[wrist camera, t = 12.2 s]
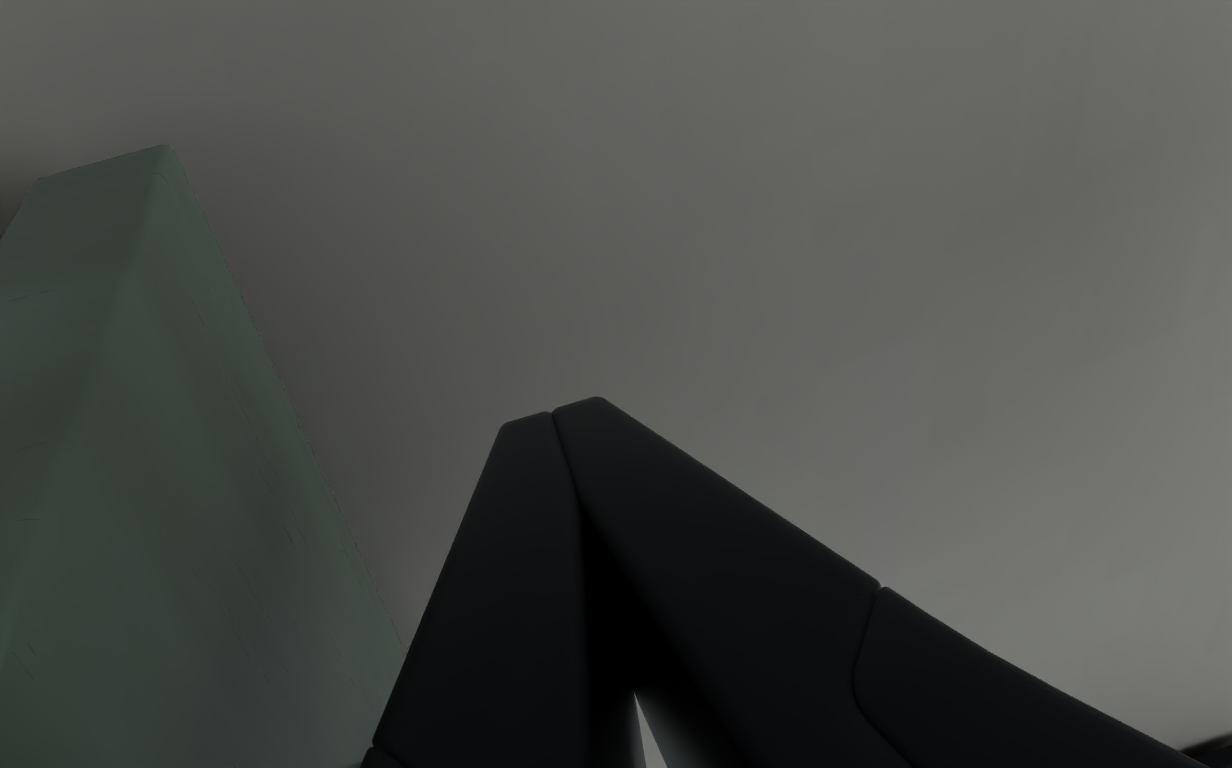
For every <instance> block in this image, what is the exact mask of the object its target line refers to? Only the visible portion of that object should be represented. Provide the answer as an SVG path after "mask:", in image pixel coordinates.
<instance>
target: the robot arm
mask: <svg viewBox="0 0 1232 768" xmlns="http://www.w3.org/2000/svg"><path fill="white" fill-rule="evenodd" d="M634 693H635V696H636V698H637V700H638V703H639V705H640V707H641V710H642V712H643V714H644V716H645V718H646V721H647V723H648V725H649V727H650V730H651V732H652V734H653V736H654V738H655V741H656V743H657V745H658V747H659V749H660V752H661V754H662V756H663V758H664V761H665V763H666V765H667V767H668V768H1232V745H1229V746H1226V747H1223V748H1220V749H1217V750H1214V751H1211V752H1208V753H1205V754H1202V755H1199V756H1197V757H1194V758H1190V757H1188V756H1186V755H1185V754H1183V753H1181V752H1179V751H1177V750H1175V749H1173V748H1171V747H1169V746H1167V745H1165V744H1163V743H1161V742H1159V741H1157V740H1155V739H1153V738H1151V737H1150V736H1148V735H1146V734H1144V733H1142V732H1140V731H1138V730H1136V729H1134V728H1132V727H1130V726H1128V725H1126V724H1124V723H1122V722H1120V721H1118V720H1116V719H1114V718H1113V717H1111V716H1109V715H1107V714H1105V713H1103V712H1101V711H1099V710H1097V709H1095V708H1093V707H1091V706H1089V705H1087V704H1085V703H1083V702H1081V701H1079V700H1078V699H1076V698H1074V697H1072V696H1070V695H1068V694H1066V693H1064V692H1062V691H1060V690H1059V689H1057V688H1055V687H1053V686H1051V685H1049V684H1048V683H1046V682H1044V681H1042V680H1040V679H1038V678H1037V677H1035V676H1033V675H1031V674H1029V673H1027V672H1026V671H1024V670H1022V669H1020V668H1018V667H1016V666H1015V665H1013V664H1011V663H1009V662H1007V661H1005V660H1004V659H1002V658H1000V657H998V656H996V655H995V654H993V653H991V652H989V651H987V650H986V649H984V648H983V647H981V646H979V645H978V644H976V643H975V642H973V641H971V640H970V639H968V638H967V637H965V636H963V635H962V634H960V633H958V632H957V631H955V630H954V629H952V628H950V627H949V626H947V625H946V624H944V623H942V622H941V621H939V620H938V619H936V618H934V617H933V616H931V615H930V614H928V613H926V612H925V611H923V610H922V609H920V608H919V607H917V606H916V605H914V604H913V603H911V602H910V601H908V600H907V599H905V598H904V597H902V596H901V595H899V594H898V593H896V592H895V591H893V590H892V589H890V588H889V587H882V588H881V585H880V583H879V582H878V581H877V580H876V579H875V578H873V577H872V576H870V575H869V574H867V573H866V572H864V571H863V570H861V569H860V568H858V567H857V566H855V565H854V564H852V563H851V562H849V561H848V560H846V559H845V558H843V557H842V556H840V555H838V554H837V553H835V552H834V551H832V550H831V549H829V548H828V547H826V546H825V545H823V544H822V543H820V542H819V541H817V540H816V539H814V538H813V537H811V536H810V535H808V534H807V533H805V532H804V531H802V530H801V529H799V528H798V527H796V526H795V525H793V524H792V523H790V522H789V521H787V520H786V519H784V518H783V517H781V516H780V515H778V514H777V513H775V512H774V511H772V510H771V509H769V508H768V507H766V506H765V505H763V504H762V503H760V502H759V501H757V500H756V499H754V498H753V497H751V496H750V495H748V494H747V493H745V492H744V491H742V490H741V489H739V488H738V487H736V486H735V485H733V484H732V483H730V482H729V481H727V480H726V479H724V478H723V477H721V476H720V475H718V474H717V473H715V472H714V471H712V470H711V469H709V468H708V467H706V466H705V465H703V464H702V463H700V462H699V461H697V460H696V459H694V458H693V457H691V456H690V455H688V454H687V453H685V452H684V451H682V450H681V449H679V448H678V447H676V446H675V445H673V444H672V443H670V442H669V441H667V440H666V439H664V438H663V437H661V436H660V435H658V434H657V433H655V432H654V431H652V430H651V429H649V428H648V427H646V426H645V425H643V424H642V423H640V422H639V421H637V420H636V419H634V418H633V417H631V416H630V415H628V414H627V413H625V412H624V411H622V410H621V409H619V408H618V407H616V406H614V405H613V404H611V403H610V402H608V401H607V400H605V399H604V398H602V397H597V396H596V397H591V398H588V399H584V400H581V401H578V402H574V403H571V404H568V405H564V406H561V407H558V408H556V409H554V411H553V412H552V413H551V412H547V411H546V412H541V413H537V414H534V415H530V416H527V417H523V418H520V419H517V420H513V421H510V422H507V423H505V424H504V425H503V426H502V427H501V428H500V430H499V432H498V434H497V437H496V439H495V442H494V444H493V447H492V449H491V451H490V454H489V456H488V459H487V461H486V464H485V466H484V468H483V471H482V473H481V476H480V478H479V481H478V483H477V486H476V488H475V490H474V493H473V495H472V498H471V500H470V503H469V505H468V507H467V510H466V512H465V515H464V517H463V520H462V522H461V524H460V527H459V529H458V532H457V534H456V537H455V539H454V541H453V544H452V546H451V549H450V551H449V554H448V556H447V558H446V561H445V563H444V566H443V568H442V571H441V573H440V575H439V578H438V580H437V583H436V585H435V588H434V590H433V592H432V595H431V597H430V600H429V602H428V605H427V607H426V609H425V612H424V614H423V617H422V619H421V622H420V624H419V626H418V629H417V631H416V634H415V636H414V639H413V641H412V643H411V646H410V648H409V651H408V653H407V656H406V658H405V660H404V663H403V665H402V668H401V670H400V673H399V675H398V677H397V680H396V682H395V685H394V687H393V690H392V692H391V694H390V697H389V699H388V702H387V704H386V707H385V709H384V711H383V714H382V716H381V719H380V721H379V724H378V726H377V728H376V731H375V733H374V736H373V738H372V744H373V747H370V748H369V749H368V750H367V751H366V753H365V756H364V758H363V761H362V763H361V766H360V768H646V763H645V757H644V750H643V744H642V738H641V732H640V725H639V719H638V713H637V707H636V701H635V696H634Z"/></svg>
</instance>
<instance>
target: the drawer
mask: <svg viewBox="0 0 1232 768" xmlns="http://www.w3.org/2000/svg"><path fill="white" fill-rule="evenodd" d="M406 656H407V655H406V652H405V650H404V648H403V646H402V644H401V641H400V639H399V637H398V635H397V633H396V631H395V628H394V626H393V624H392V622H391V620H390V618H389V615H388V613H387V611H386V609H385V607H384V605H383V602H382V600H381V598H380V596H379V594H378V592H377V589H376V587H375V585H374V583H373V581H372V579H371V576H370V574H369V572H368V570H367V568H366V566H365V563H364V561H363V559H362V557H361V555H360V553H359V550H358V548H357V546H356V544H355V542H354V540H353V537H352V535H351V533H350V531H349V529H348V527H347V524H346V522H345V520H344V518H343V516H342V514H341V511H340V509H339V507H338V505H337V503H336V501H335V498H334V496H333V494H332V492H331V490H330V488H329V485H328V483H327V481H326V479H325V477H324V474H323V472H322V470H321V468H320V466H319V464H318V461H317V459H316V457H315V455H314V453H313V451H312V448H311V446H310V444H309V442H308V440H307V438H306V435H305V433H304V431H303V429H302V427H301V425H300V422H299V420H298V418H297V416H296V414H295V412H294V409H293V407H292V405H291V403H290V401H289V399H288V396H287V394H286V392H285V390H284V388H283V386H282V383H281V381H280V379H279V377H278V375H277V373H276V370H275V368H274V366H273V364H272V362H271V360H270V357H269V355H268V353H267V351H266V349H265V347H264V344H263V342H262V340H261V338H260V336H259V334H258V331H257V329H256V327H255V325H254V323H253V321H252V318H251V316H250V314H249V312H248V310H247V307H246V305H245V303H244V301H243V299H242V297H241V294H240V292H239V290H238V288H237V286H236V284H235V281H234V279H233V277H232V275H231V273H230V271H229V268H228V266H227V264H226V262H225V260H224V258H223V255H222V253H221V251H220V249H219V247H218V245H217V242H216V240H215V238H214V236H213V234H212V232H211V229H210V227H209V225H208V223H207V221H206V219H205V216H204V214H203V212H202V210H201V208H200V206H199V203H198V201H197V199H196V197H195V195H194V193H193V190H192V188H191V186H190V184H189V182H188V180H187V177H186V175H185V173H184V171H183V169H182V167H181V164H180V162H179V160H178V158H177V156H176V154H175V151H174V150H173V149H172V148H171V147H170V146H169V145H158V146H154V147H150V148H147V149H143V150H140V151H136V152H132V153H129V154H125V155H122V156H118V157H114V158H111V159H107V160H104V161H100V162H96V163H93V164H89V165H86V166H82V167H78V168H75V169H71V170H68V171H64V172H60V173H57V174H53V175H50V176H46V177H42V178H39V179H37V180H36V181H35V182H34V183H33V184H32V186H31V188H30V189H29V191H28V193H27V195H26V196H25V198H24V200H23V201H22V203H21V205H20V206H19V208H18V210H17V212H16V213H15V215H14V217H13V218H12V220H11V222H10V223H9V225H8V227H7V229H6V230H5V232H4V234H3V235H2V237H1V239H0V768H360V766H361V763H362V761H363V758H364V756H365V753H366V751H367V750H368V749H369V748H370V747H373V744H372V738H373V736H374V733H375V731H376V728H377V726H378V724H379V721H380V719H381V716H382V714H383V711H384V709H385V707H386V704H387V702H388V699H389V697H390V694H391V692H392V690H393V687H394V685H395V682H396V680H397V677H398V675H399V673H400V670H401V668H402V665H403V663H404V660H405V658H406Z"/></svg>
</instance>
